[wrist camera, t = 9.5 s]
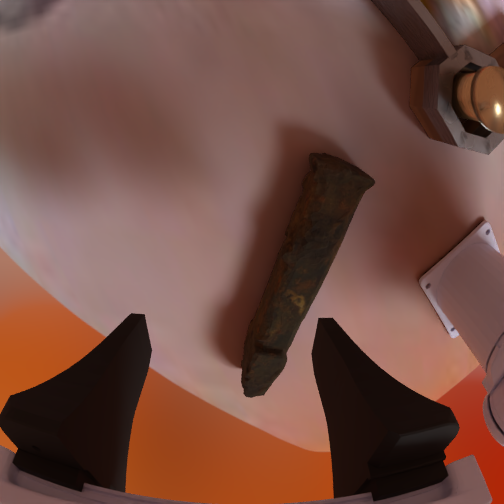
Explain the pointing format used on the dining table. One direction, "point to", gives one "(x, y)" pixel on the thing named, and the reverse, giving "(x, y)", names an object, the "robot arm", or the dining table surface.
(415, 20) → the grey ring with handle
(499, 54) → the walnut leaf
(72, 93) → the dining table surface
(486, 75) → the bronze pin
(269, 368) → the hand tool
